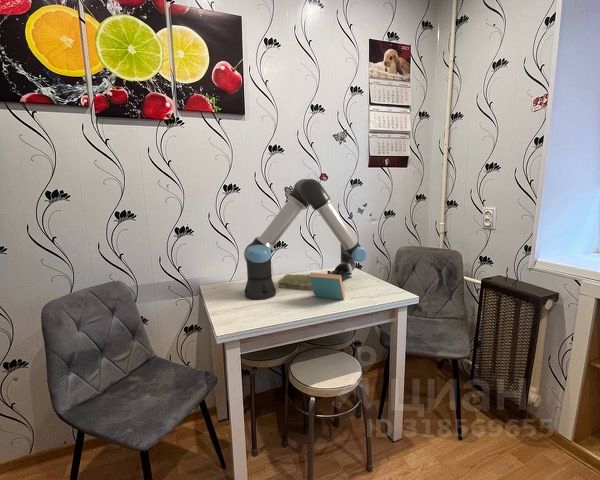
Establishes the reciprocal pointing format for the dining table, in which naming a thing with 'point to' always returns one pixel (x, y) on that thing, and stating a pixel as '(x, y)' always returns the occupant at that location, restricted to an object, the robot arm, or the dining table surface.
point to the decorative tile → (296, 282)
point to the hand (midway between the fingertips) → (330, 283)
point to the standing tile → (327, 285)
